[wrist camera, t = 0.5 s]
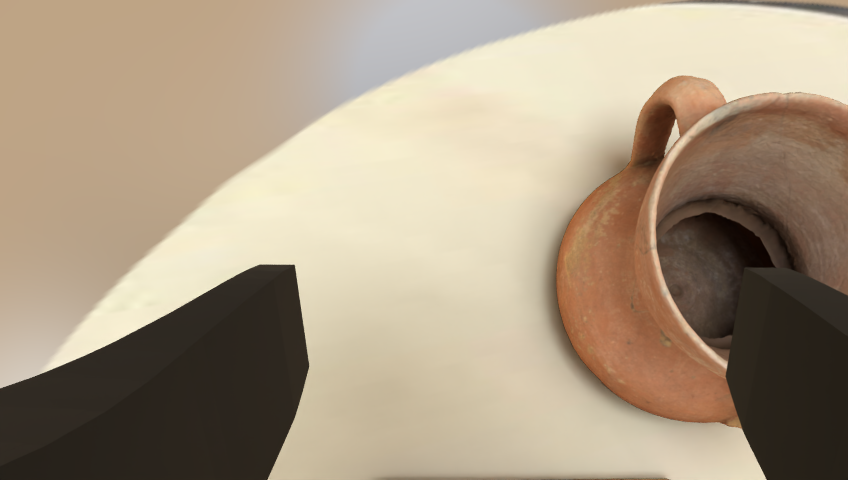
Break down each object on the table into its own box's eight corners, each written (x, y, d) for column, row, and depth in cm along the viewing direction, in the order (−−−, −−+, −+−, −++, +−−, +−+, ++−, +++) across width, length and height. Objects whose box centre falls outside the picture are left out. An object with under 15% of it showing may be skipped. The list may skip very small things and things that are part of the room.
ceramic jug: (833, 412, 38) (1076, 417, 24) (588, 469, 37) (695, 509, 23) (732, 124, 42) (889, -13, 28) (510, 169, 41) (559, 49, 27)
